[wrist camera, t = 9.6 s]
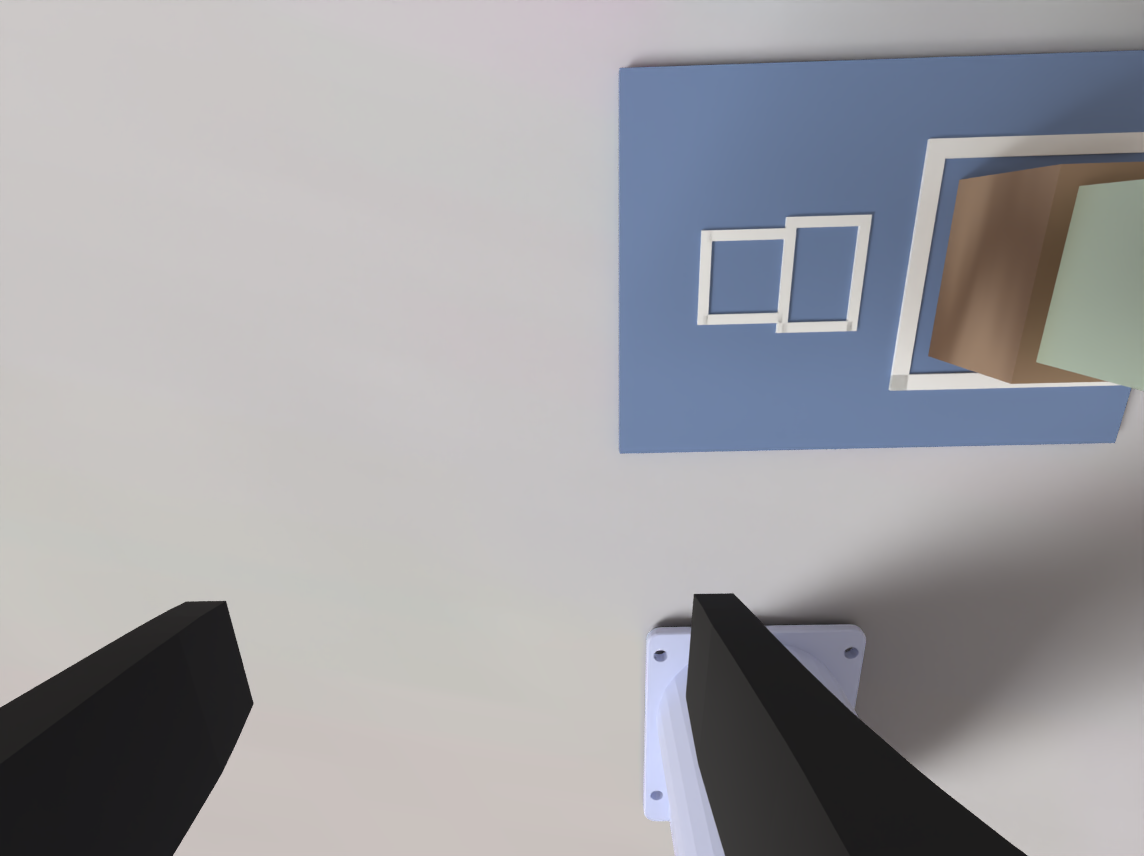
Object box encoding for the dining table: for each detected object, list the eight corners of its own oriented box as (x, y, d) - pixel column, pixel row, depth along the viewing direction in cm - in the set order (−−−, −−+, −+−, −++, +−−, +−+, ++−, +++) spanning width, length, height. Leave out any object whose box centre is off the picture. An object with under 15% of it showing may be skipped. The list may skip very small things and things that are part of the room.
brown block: (1092, 352, 17) (1215, 379, 14) (928, 356, 17) (1010, 383, 14) (1141, 174, 16) (1292, 156, 12) (959, 179, 16) (1060, 163, 12)
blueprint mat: (1103, 438, 19) (1117, 443, 18) (619, 449, 19) (620, 454, 18) (1216, 51, 15) (1237, 46, 15) (618, 71, 15) (620, 66, 15)
